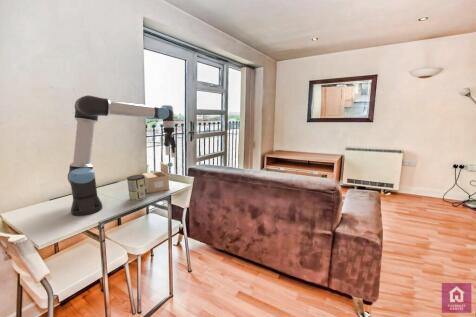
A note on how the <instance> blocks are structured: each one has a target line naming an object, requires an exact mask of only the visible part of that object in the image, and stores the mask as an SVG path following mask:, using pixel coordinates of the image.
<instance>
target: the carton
mask: <svg viewBox="0 0 476 317" xmlns="http://www.w3.org/2000/svg"><path fill="white" fill-rule="evenodd" d="M141 175H144V176H145V177H144V178H145V188H146V193H148V194H153V193H159V192H164V191H163V190H165V191H169V190H170V183H169V182H170V180H169V175H166V174H165V173H163V172H162V171H158V172H157V171H156V172H152V171H150V172H144V173H142V174H141Z"/></svg>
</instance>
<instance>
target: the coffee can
mask: <svg viewBox="0 0 476 317" xmlns="http://www.w3.org/2000/svg"><path fill="white" fill-rule="evenodd" d="M144 177H145V176H144V175H142V174H134V175H130V176H128V177H126V180H127V188H128V195H129V200H130V201H141V200H144V199H146V198H147V191H146V188H145V178H144Z"/></svg>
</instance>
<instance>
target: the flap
mask: <svg viewBox="0 0 476 317" xmlns="http://www.w3.org/2000/svg"><path fill="white" fill-rule="evenodd" d="M173 164H174V163H173V162H171V161H169V162H168V163H164V162H162V161H160V172H162V173H164V174H166V175H167V176H169V173H170V172H169V168H172V167H173Z"/></svg>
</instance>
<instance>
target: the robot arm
mask: <svg viewBox="0 0 476 317" xmlns="http://www.w3.org/2000/svg"><path fill="white" fill-rule="evenodd" d="M109 115H113V116H125V117H134V118H135V117H138V118H145V119H147V120H162V126H163V128H162V129H163V133H164V141H163V145H164V147H165V156H171V158H177V157H176V148H177V145H176V140H175V134H174V133H175V121H174V120H175V119H174V107H173V106H172V105H168V104H166V105H162V106H153V105H146V104H138V103H130V102H129V103H128V102H121V101H120V102H119V101H112V100H109V99H108V98H104V97H99V96H94V95H83V96H81V97H79V98H78V99H77V100H76V101H75V103H74V119H75V120H76V131H75V140H74V142H75V143H74V151H73V159H72V160H73V161H72V162H71V163H70V164H69V170H68V174H67V180H68V183H69V185H70V188H71V195H72V203H71V207H70V213H71V214H70V215H72V216H75V217H76V216H77V217H79V216H80V217H81V216H86V215H91V214H94V213H97V212H99V211H101V210H103V209H104V208H103V203H102V201H101V199H100V197H99V195H98V190H97V189H98V188H97V183H96V173H95V171H94V167H93V166H94V165H93V164H92V163H91V159H92V151H93V150H92V149H93V141H94V140H93V139H94V131H95V124H96V123H97V122H98V120H99V116H102V117H103V116H104V117H108V116H109ZM170 154H171V155H170Z"/></svg>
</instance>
